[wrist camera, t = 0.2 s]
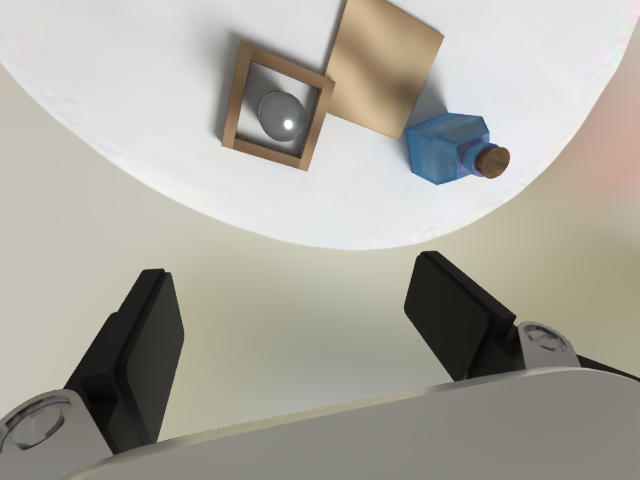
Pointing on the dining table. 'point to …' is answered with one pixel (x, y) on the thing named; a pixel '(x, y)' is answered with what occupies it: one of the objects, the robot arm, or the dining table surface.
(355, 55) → the mat
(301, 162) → the collar
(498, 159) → the perfume bottle
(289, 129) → the peg
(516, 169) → the dining table surface
